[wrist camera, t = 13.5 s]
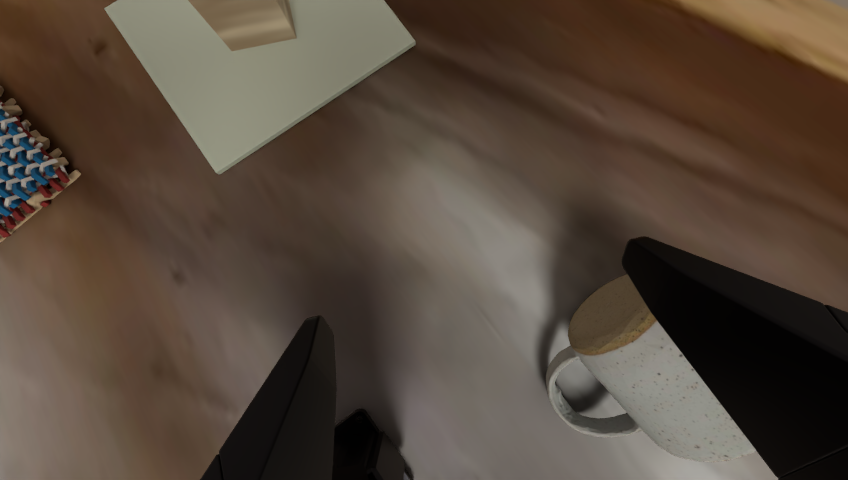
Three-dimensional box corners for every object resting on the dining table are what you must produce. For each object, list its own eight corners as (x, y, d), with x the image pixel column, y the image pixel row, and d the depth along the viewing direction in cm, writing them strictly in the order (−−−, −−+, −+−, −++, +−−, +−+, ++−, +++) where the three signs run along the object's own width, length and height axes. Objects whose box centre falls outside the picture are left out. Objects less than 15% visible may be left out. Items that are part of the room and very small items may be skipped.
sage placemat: (219, 174, 23) (216, 173, 22) (109, 12, 24) (103, 8, 23) (415, 44, 24) (415, 41, 24) (301, -104, 25) (299, -110, 25)
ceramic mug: (610, 262, 23) (705, 261, 15) (693, 342, 22) (837, 383, 14) (511, 366, 22) (558, 420, 14) (595, 451, 21) (690, 554, 14)
